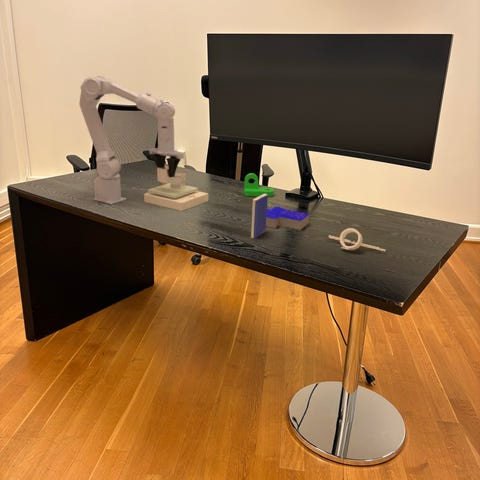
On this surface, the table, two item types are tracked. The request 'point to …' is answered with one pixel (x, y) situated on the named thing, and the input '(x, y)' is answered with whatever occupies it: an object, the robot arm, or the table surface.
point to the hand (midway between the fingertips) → (166, 175)
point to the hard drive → (259, 215)
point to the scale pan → (172, 191)
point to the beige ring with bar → (357, 245)
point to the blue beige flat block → (286, 218)
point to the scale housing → (177, 200)
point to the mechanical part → (255, 187)
